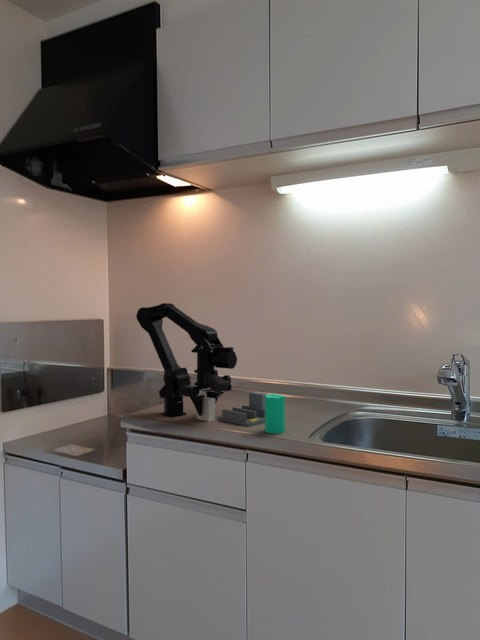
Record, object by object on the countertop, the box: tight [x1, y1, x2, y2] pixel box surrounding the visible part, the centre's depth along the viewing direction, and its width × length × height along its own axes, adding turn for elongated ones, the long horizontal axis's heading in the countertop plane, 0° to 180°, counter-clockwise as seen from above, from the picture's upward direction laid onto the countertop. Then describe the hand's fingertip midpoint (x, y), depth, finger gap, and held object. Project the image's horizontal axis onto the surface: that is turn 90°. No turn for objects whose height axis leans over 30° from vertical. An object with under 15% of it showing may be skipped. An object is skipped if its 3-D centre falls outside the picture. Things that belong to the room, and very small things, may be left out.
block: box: [195, 396, 216, 422], centre depth 162 cm, size 6×3×7 cm, turn 46°
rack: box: [217, 391, 269, 427], centre depth 162 cm, size 14×15×8 cm
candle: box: [264, 393, 286, 434], centre depth 147 cm, size 6×6×12 cm
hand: (205, 414), depth 162 cm, fingers open, 4 cm apart
